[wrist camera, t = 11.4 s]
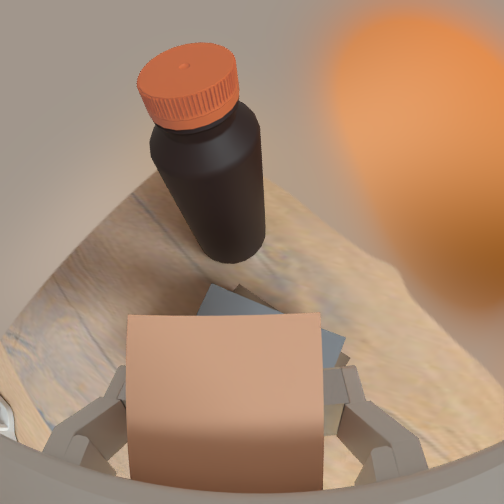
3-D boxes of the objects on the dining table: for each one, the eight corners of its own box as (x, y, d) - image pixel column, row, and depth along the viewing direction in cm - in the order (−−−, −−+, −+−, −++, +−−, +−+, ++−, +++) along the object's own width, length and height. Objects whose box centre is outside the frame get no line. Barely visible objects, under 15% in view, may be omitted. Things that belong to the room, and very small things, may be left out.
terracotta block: (198, 434, 14) (131, 488, 6) (197, 340, 15) (128, 314, 8) (299, 435, 13) (322, 499, 6) (297, 338, 15) (319, 312, 8)
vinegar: (270, 260, 30) (265, 99, 11) (200, 269, 30) (106, 129, 12) (261, 199, 33) (247, 26, 14) (197, 208, 33) (130, 49, 14)
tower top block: (170, 402, 23) (153, 408, 19) (220, 295, 26) (211, 283, 22) (284, 453, 21) (286, 468, 17) (334, 341, 24) (345, 337, 20)
